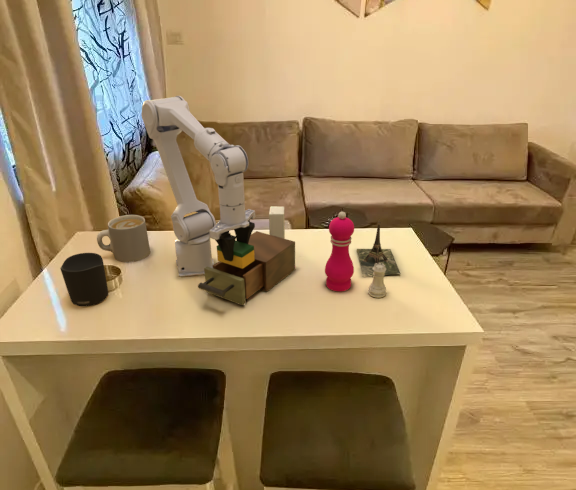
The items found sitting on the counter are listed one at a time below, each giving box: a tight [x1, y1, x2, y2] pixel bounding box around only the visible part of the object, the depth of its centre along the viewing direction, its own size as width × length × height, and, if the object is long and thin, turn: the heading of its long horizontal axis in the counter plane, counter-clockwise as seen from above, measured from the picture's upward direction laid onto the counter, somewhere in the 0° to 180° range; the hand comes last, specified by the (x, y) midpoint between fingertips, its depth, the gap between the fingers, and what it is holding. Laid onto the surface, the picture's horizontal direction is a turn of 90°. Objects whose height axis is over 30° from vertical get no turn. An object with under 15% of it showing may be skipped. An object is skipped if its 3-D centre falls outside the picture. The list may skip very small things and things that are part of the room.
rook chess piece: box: [367, 263, 387, 299], centre depth 117 cm, size 4×4×8 cm
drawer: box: [197, 261, 264, 306], centre depth 117 cm, size 17×11×7 cm, turn 147°
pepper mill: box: [324, 211, 355, 292], centre depth 117 cm, size 7×7×20 cm
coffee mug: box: [96, 214, 151, 263], centre depth 135 cm, size 13×10×10 cm
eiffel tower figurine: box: [356, 217, 401, 278], centre depth 129 cm, size 15×10×13 cm
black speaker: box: [59, 252, 109, 308], centre depth 115 cm, size 9×9×10 cm
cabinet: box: [248, 230, 296, 293], centre depth 125 cm, size 13×12×8 cm
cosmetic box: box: [268, 205, 286, 239], centre depth 138 cm, size 6×4×12 cm
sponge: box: [216, 239, 254, 269], centre depth 115 cm, size 5×8×4 cm, turn 57°
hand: (235, 255), depth 115 cm, fingers closed on sponge, 5 cm apart
